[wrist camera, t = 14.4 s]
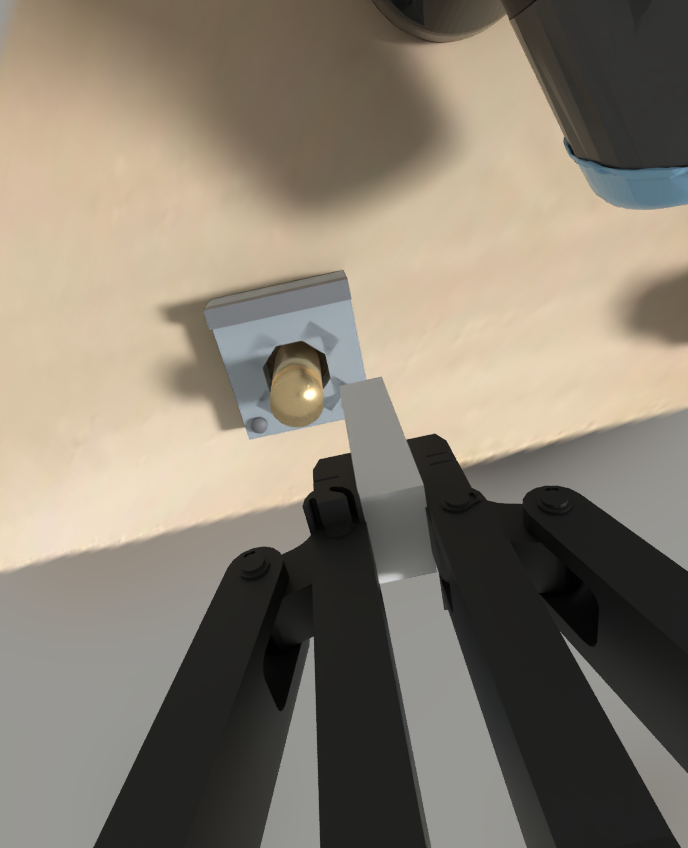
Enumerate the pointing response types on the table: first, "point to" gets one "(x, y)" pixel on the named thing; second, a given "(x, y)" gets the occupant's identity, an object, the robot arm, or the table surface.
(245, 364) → the jig
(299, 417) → the brass cylinder
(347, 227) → the table surface
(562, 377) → the table surface
